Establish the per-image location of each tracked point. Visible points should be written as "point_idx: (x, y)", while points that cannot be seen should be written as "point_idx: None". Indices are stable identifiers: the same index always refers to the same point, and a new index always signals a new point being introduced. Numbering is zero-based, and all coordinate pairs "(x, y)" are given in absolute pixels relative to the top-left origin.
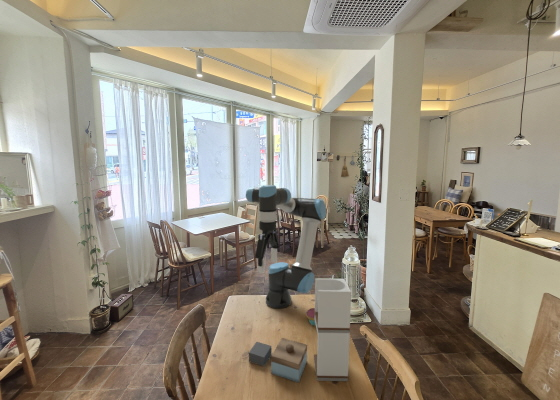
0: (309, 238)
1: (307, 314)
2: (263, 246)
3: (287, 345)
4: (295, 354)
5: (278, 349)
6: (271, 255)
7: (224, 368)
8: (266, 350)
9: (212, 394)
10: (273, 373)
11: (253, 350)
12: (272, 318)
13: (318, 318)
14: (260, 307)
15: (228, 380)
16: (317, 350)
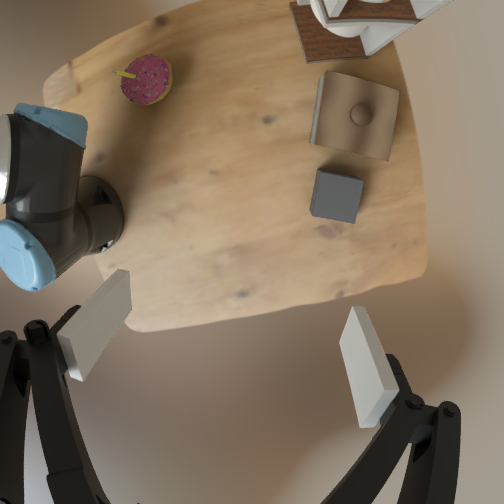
0: None
1: (157, 97)
2: (428, 498)
3: (359, 122)
4: (371, 99)
5: (364, 146)
6: (110, 336)
7: (372, 260)
8: (340, 181)
9: (425, 255)
10: None
11: (346, 214)
12: (169, 206)
13: (438, 9)
14: (133, 255)
15: (399, 240)
16: (388, 40)
